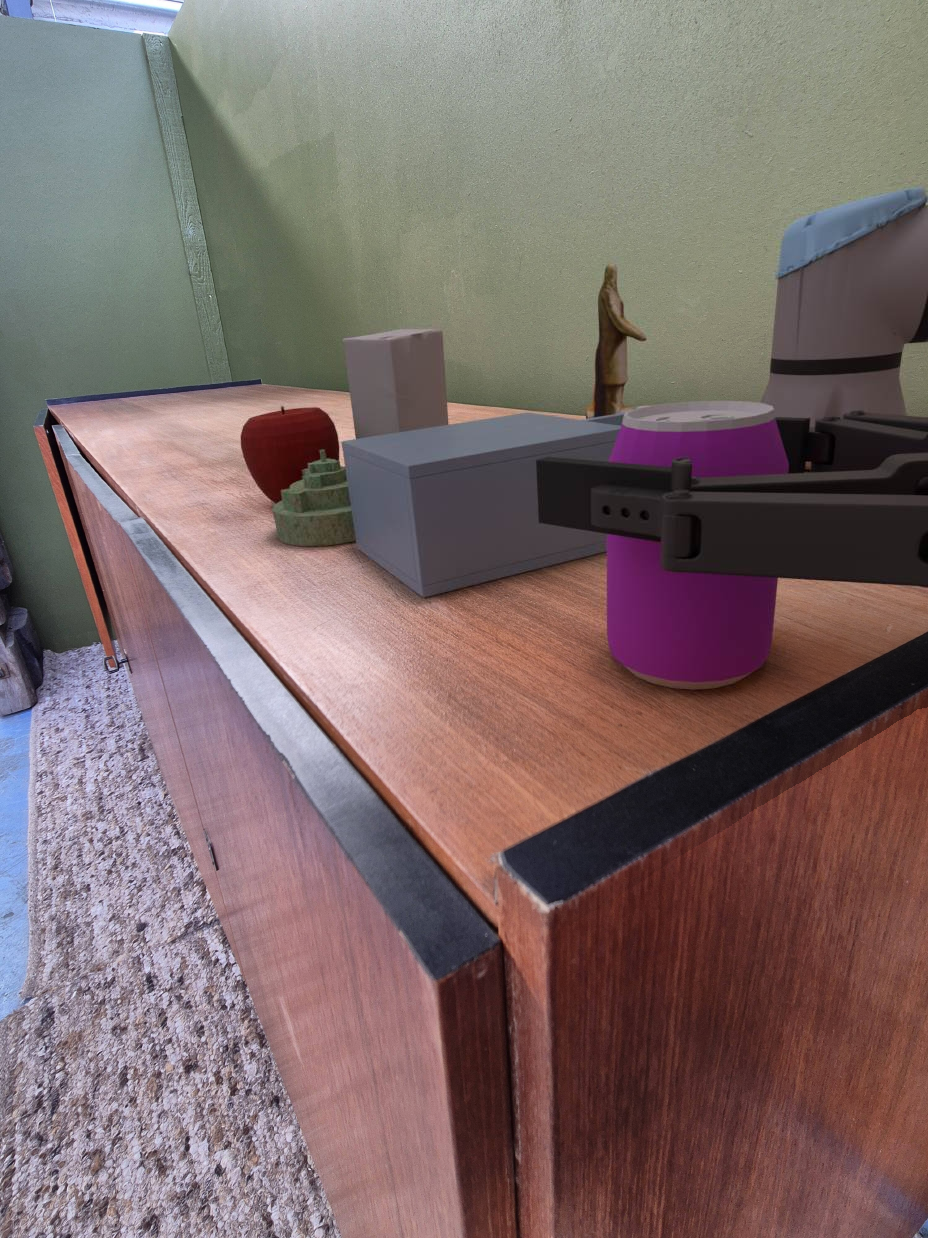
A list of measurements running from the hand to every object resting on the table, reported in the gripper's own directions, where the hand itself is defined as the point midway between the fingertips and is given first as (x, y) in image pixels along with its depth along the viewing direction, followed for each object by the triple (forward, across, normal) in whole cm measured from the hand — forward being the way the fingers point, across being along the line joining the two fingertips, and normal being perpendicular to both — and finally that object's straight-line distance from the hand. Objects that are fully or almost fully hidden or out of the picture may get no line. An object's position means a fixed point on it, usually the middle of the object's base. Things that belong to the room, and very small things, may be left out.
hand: (617, 462), depth 34 cm
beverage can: (-4, 0, -10) cm, 10 cm away
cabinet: (+17, +9, -10) cm, 22 cm away
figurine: (+23, +35, -10) cm, 43 cm away
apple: (+45, +10, -10) cm, 47 cm away
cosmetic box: (+38, +20, -10) cm, 44 cm away
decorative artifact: (+33, +6, -10) cm, 35 cm away
